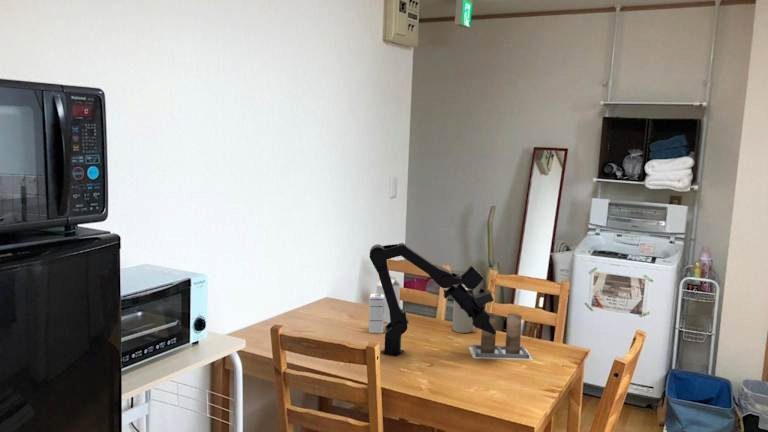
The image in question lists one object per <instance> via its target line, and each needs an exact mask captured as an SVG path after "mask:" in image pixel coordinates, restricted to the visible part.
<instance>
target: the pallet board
mask: <svg viewBox="0 0 768 432" xmlns="http://www.w3.org/2000/svg"><path fill="white" fill-rule="evenodd" d="M468 349H469V352H470V354H471V356H472V359H486V360H518V361H519V360H520V361H521V360H522V361H523V360H524V361H534V359H533V357H532V356H531V354H530V353H529V351H528V350H527V348H525V347H524V346H521V345H520V354H506V353H505V350H506V345H495V354H494V353H481V344H472V346H468Z"/></svg>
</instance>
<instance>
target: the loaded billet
mask: <svg viewBox="0 0 768 432" xmlns="http://www.w3.org/2000/svg"><path fill="white" fill-rule="evenodd" d="M522 317H523V316H522V315H521V314H519V313H508V314H507V316H506V331H505V333H506V334H505V335H506V336H505V337H506V338H505V346H506V350H505V353H506V354H520V346H521V335H522V334H521V333H522V319H523V318H522Z"/></svg>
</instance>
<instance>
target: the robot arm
mask: <svg viewBox="0 0 768 432" xmlns="http://www.w3.org/2000/svg"><path fill="white" fill-rule="evenodd" d="M396 257H397V258H398V257H402V258H403V259H405V260H407V261H408V262H409V263H411V264H412V265H414V266H416V267H417V268H419V269H420V270H421V271H423V272H424V273H426V274H427V275H428V276H429V277H430V278H431V279H432V280H433V281H434V282H435V283H436V284H437V285H438V286H439V287H440V288H442V290H443V295H442V296H443V297H444V299H447V298H448V297H451V299H453V302H454V301H455V302H456V303H457V304H458V305H459V306H460V308H461V309H463V310H464V311H465V312H466V313H467V315H468V316H469V317H472V318H471V322H472V324H473V327H474V328H475V329H479V330H481V331H482V330H484V331H487V332H489V333H491V334H497V330H496V331H495V330H494V328H493V327H492V325H491V323H490V322H489V319H490V316H489V314H488V313H489V312H487V311H486V310H485V306H484V305H485V304H487V303H488V304H489V303H492V302H494V300H495V299H494V297H493V295H492V292H491V291H490V290H489V289H484V288H483V287H481V288H479V289H478V293H477V294H475V295H473V294H474V293H473V294H471V293H469V292H468V291H467V290H466V289H465V288H464V287H463V286H462V285H465V286H466V287H467V288H468V289H473V291H474V290H475V288H477V287H478V286H479V285H480V284H482V282H484V281H485V279H486V278H484V276H483V275H482V274H481V273H480V272H479V270H476V268H475V267H473V266H472V265H470V266H468V268H467V269H466V270H465V271H463V272H462V274H459V273H454V272H451V271H450V270H449V269H446V268H444V267H442V266H440V265H437V264H434V263H433V262H431V261H429V260H428V259H426V258H425V257H424V256H423V255H421V254H419V253H417V252H416V251H415V250H413V249H412V248H410V247H409V246H407V244H406V243H404V242H399V243H397V244H396V243H395V244H386V245H382V244H374V245H372V246H371V247H370V249H369V259H370V261H371V263H372V265H373V267H374V269H375V270H376V272H377V275H378V278H379V281H381V284H382V288H383V291H384V294H385V297H386V301H387V304H388V307H389V312H390V321H391V322H390V323H387V325H384V347H383V350H381V351H380V354H383V355H388V356H392V357H398V356H400V355H402V354H403V353H405V350H404V349H402V335H403V334H404V333H406V331H407V330H408V324H409V317H408V316H407V314H406V308H405V307H404V308H401V306H400V305H399V304H398V301H397V298H396V294H395V291H394V288H393V284H392V281H391V278H390V276H391V274H390V272H389V267H388V260H391V259H394V258H396Z"/></svg>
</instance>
